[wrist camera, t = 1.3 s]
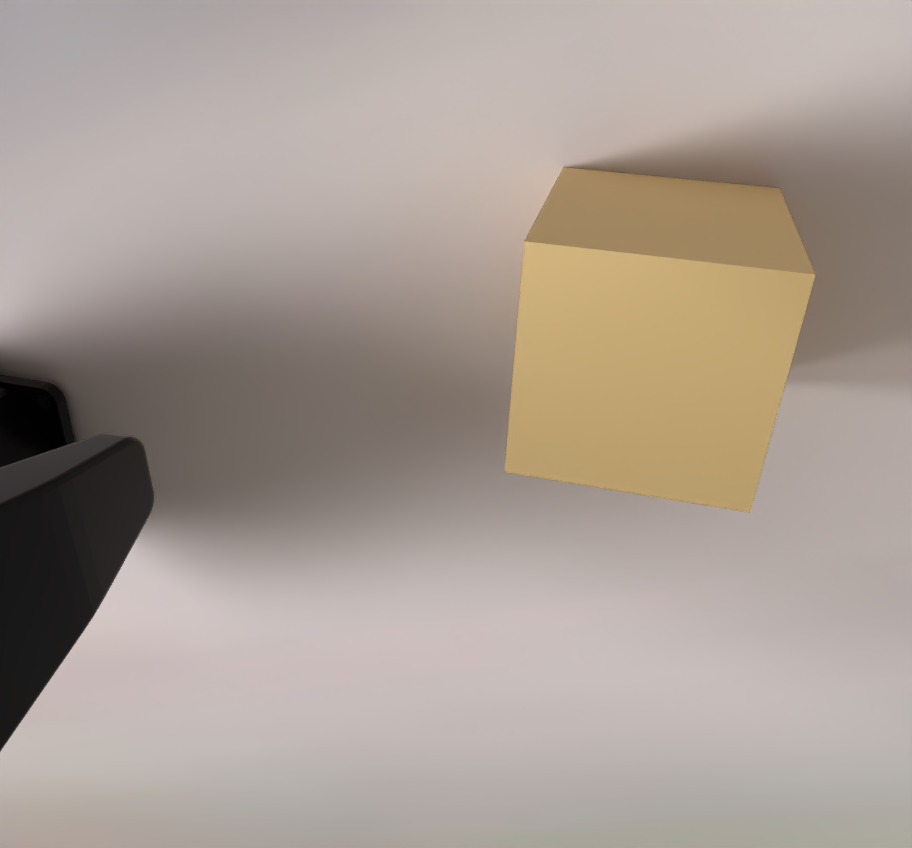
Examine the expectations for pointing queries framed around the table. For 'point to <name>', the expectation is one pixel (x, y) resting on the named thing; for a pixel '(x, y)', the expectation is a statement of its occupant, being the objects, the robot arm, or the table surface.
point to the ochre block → (655, 335)
